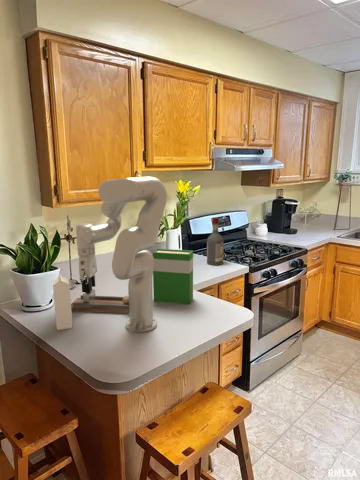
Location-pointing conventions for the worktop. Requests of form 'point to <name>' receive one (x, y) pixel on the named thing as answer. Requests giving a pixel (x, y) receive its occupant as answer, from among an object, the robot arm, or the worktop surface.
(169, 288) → the hardback book
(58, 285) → the milk
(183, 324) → the worktop surface
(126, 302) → the walnut
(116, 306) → the press base
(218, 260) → the liquor
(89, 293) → the press jaw
